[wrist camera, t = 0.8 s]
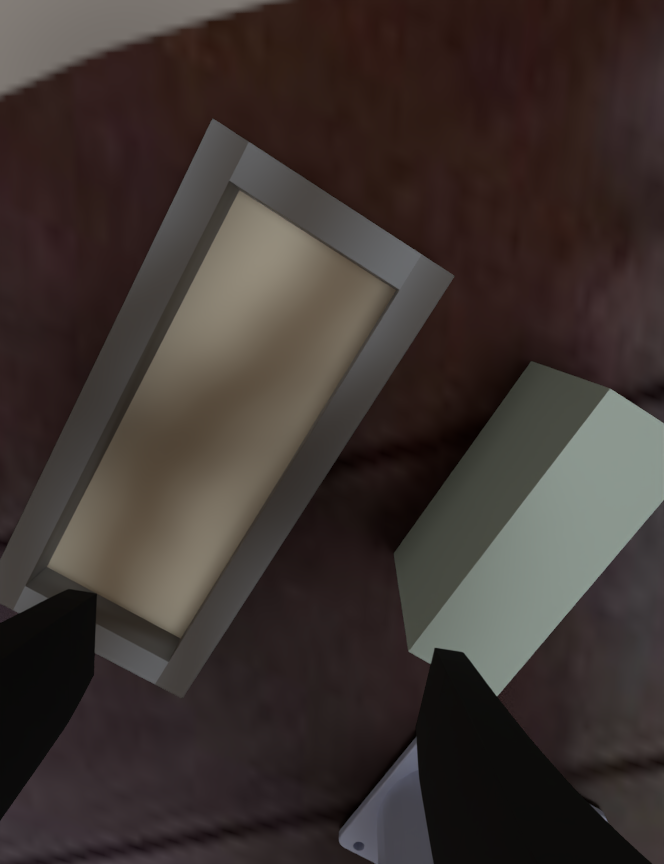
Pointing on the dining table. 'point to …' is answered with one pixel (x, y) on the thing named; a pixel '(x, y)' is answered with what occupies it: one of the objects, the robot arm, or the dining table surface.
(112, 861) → the dining table surface
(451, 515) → the grey-green rectangular block
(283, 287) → the grey shallow tray
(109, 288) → the dining table surface
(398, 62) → the dining table surface
